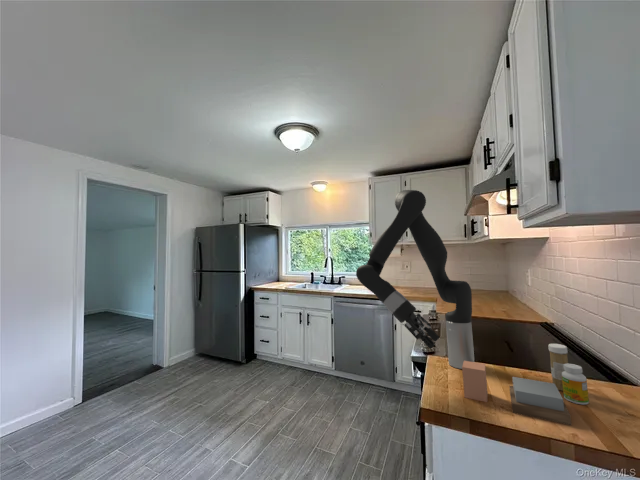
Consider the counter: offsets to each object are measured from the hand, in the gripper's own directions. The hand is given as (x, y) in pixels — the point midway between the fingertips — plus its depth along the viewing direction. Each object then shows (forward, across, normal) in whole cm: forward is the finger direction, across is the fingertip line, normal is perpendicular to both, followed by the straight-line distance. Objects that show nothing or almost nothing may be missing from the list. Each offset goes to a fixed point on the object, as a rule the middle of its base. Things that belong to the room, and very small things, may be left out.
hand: (435, 342), depth 91 cm
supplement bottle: (+36, +10, -15) cm, 40 cm away
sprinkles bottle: (+34, +17, -14) cm, 41 cm away
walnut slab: (+29, 0, -8) cm, 30 cm away
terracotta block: (+18, 0, +2) cm, 18 cm away
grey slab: (+27, 0, -10) cm, 28 cm away
